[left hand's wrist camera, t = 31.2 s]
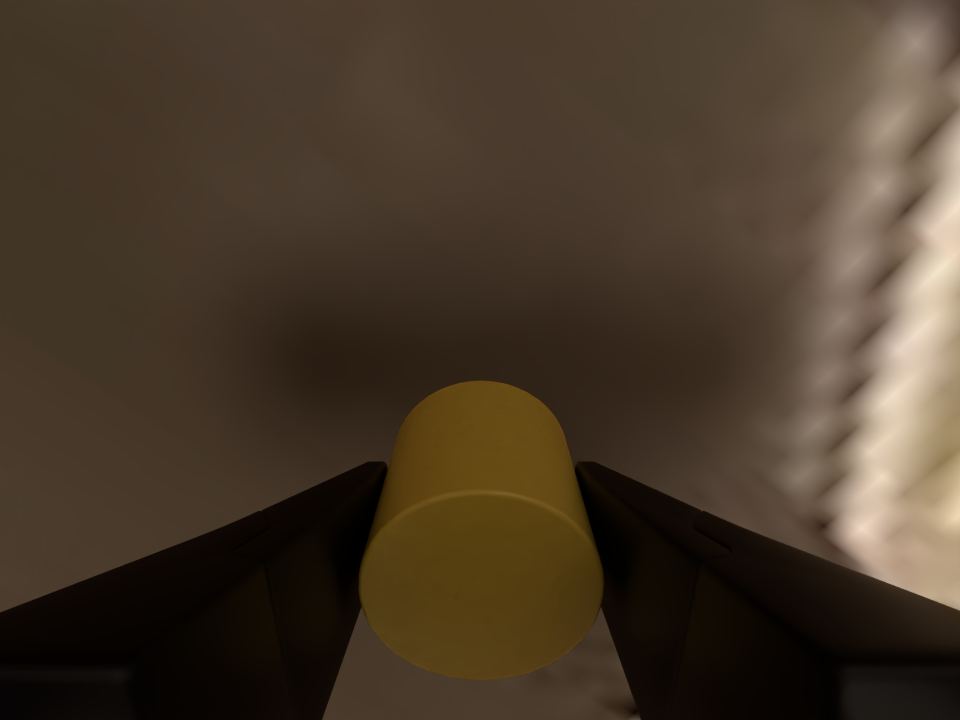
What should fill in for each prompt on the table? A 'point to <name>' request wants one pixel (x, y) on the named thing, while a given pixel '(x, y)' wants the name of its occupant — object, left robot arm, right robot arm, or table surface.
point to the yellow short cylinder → (481, 538)
